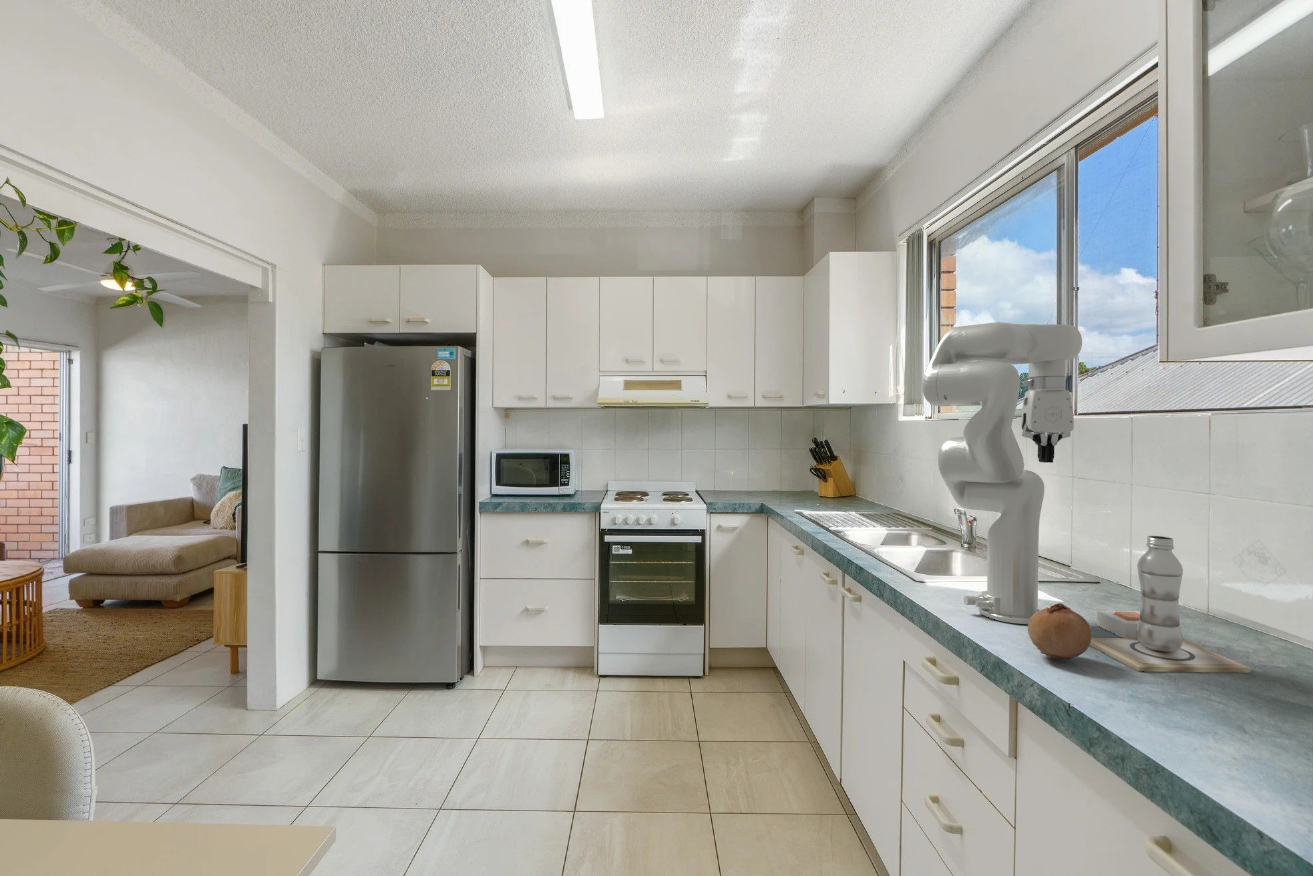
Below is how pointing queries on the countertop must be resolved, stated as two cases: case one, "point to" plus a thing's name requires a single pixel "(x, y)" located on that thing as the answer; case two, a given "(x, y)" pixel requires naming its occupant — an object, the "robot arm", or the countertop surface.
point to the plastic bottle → (1159, 596)
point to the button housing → (1117, 624)
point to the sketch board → (1166, 657)
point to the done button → (1128, 615)
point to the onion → (1059, 632)
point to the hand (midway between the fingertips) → (1045, 462)
